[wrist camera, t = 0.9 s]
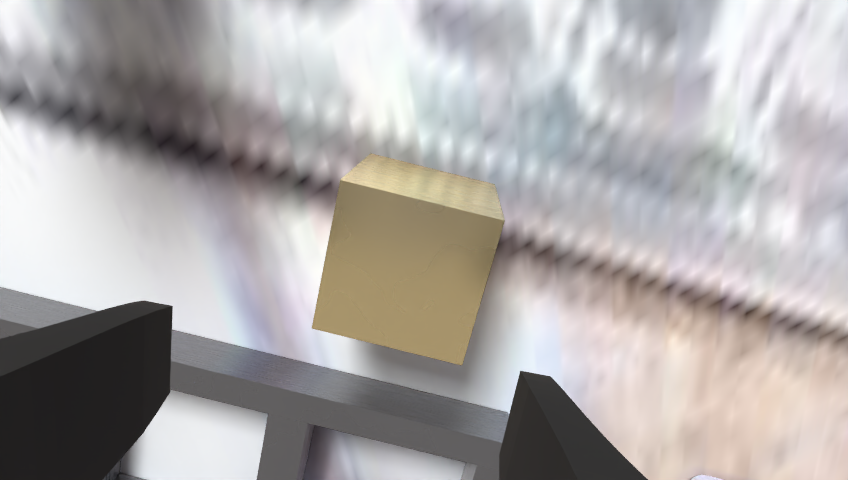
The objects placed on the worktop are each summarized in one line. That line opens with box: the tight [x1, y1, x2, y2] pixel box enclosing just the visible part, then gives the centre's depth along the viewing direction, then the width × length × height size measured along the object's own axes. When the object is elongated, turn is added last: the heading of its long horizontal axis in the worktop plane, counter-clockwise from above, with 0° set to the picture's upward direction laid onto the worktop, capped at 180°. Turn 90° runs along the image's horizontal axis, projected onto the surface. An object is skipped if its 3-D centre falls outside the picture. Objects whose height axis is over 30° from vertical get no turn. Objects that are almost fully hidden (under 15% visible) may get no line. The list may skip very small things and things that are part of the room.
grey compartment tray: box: [0, 287, 509, 480], centre depth 22 cm, size 24×9×2 cm, turn 77°
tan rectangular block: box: [312, 154, 505, 365], centre depth 18 cm, size 4×4×5 cm
